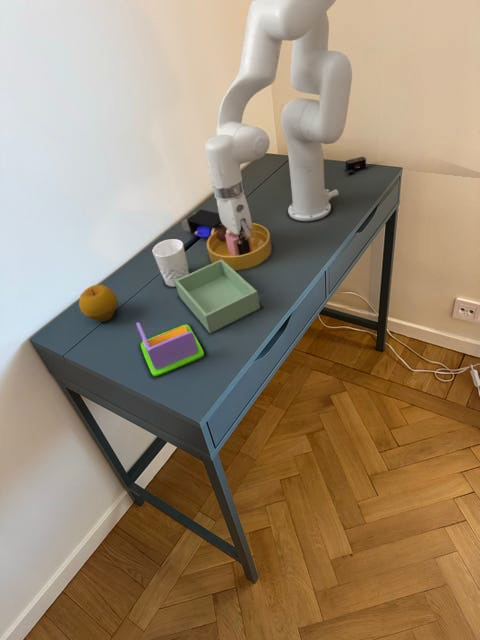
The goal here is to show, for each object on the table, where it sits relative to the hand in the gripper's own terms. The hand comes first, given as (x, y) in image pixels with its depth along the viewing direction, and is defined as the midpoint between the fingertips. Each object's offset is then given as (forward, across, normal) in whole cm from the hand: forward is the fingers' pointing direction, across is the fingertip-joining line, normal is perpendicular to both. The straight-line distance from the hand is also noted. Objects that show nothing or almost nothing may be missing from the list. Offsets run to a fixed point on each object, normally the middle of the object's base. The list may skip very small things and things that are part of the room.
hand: (239, 249), depth 126 cm
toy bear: (+1, 0, 0) cm, 1 cm away
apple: (+1, -1, +40) cm, 40 cm away
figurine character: (+1, +14, +3) cm, 14 cm away
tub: (+1, -15, +15) cm, 21 cm away
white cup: (+1, +1, +19) cm, 19 cm away
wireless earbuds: (+1, +16, -53) cm, 56 cm away
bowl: (+1, 0, 0) cm, 1 cm away
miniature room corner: (+1, -23, +31) cm, 39 cm away
